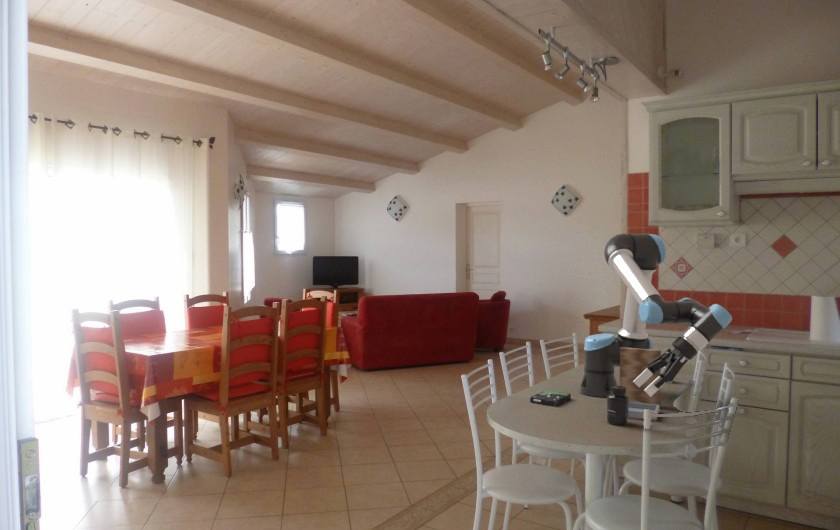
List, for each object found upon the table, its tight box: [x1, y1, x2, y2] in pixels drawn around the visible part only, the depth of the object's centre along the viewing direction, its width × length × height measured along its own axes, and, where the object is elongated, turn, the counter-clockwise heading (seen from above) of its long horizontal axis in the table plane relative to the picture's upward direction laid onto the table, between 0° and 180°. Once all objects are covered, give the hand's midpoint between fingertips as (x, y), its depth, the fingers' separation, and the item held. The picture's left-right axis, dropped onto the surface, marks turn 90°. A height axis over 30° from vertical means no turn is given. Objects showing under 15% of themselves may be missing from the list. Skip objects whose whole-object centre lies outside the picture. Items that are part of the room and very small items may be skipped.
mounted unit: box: [619, 347, 662, 410], centre depth 225 cm, size 14×6×21 cm, turn 64°
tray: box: [628, 402, 660, 422], centre depth 212 cm, size 14×14×2 cm
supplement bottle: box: [606, 385, 629, 427], centre depth 201 cm, size 7×7×12 cm
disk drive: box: [529, 390, 572, 408], centre depth 230 cm, size 10×3×15 cm
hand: (641, 388), depth 199 cm, fingers open, 13 cm apart
